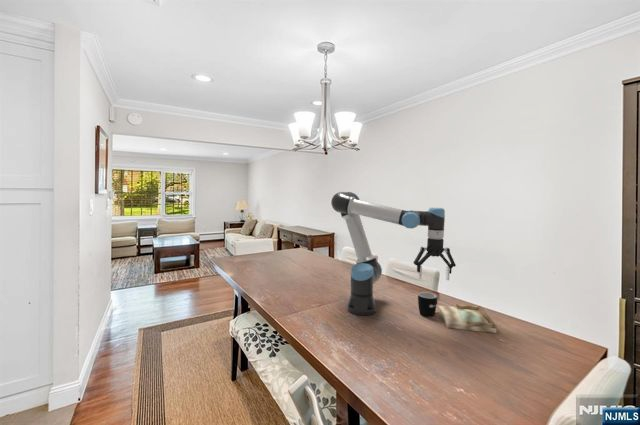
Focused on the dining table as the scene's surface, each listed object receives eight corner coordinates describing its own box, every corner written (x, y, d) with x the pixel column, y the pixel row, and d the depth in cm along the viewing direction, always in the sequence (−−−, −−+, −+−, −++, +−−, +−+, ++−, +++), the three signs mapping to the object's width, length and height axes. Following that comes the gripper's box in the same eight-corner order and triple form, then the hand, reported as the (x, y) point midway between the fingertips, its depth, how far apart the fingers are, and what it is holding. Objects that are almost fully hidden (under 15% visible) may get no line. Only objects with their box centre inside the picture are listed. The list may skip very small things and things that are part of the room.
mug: (428, 320, 132) (429, 299, 131) (413, 313, 140) (414, 293, 139) (444, 314, 138) (444, 295, 138) (428, 308, 146) (429, 289, 145)
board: (447, 327, 124) (447, 320, 124) (438, 309, 145) (438, 302, 145) (496, 332, 120) (496, 325, 119) (480, 313, 140) (480, 306, 140)
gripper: (412, 238, 135) (410, 280, 137) (464, 240, 133) (462, 282, 134) (408, 236, 143) (407, 275, 144) (458, 237, 140) (455, 277, 142)
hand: (433, 279), depth 139 cm, fingers open, 13 cm apart
